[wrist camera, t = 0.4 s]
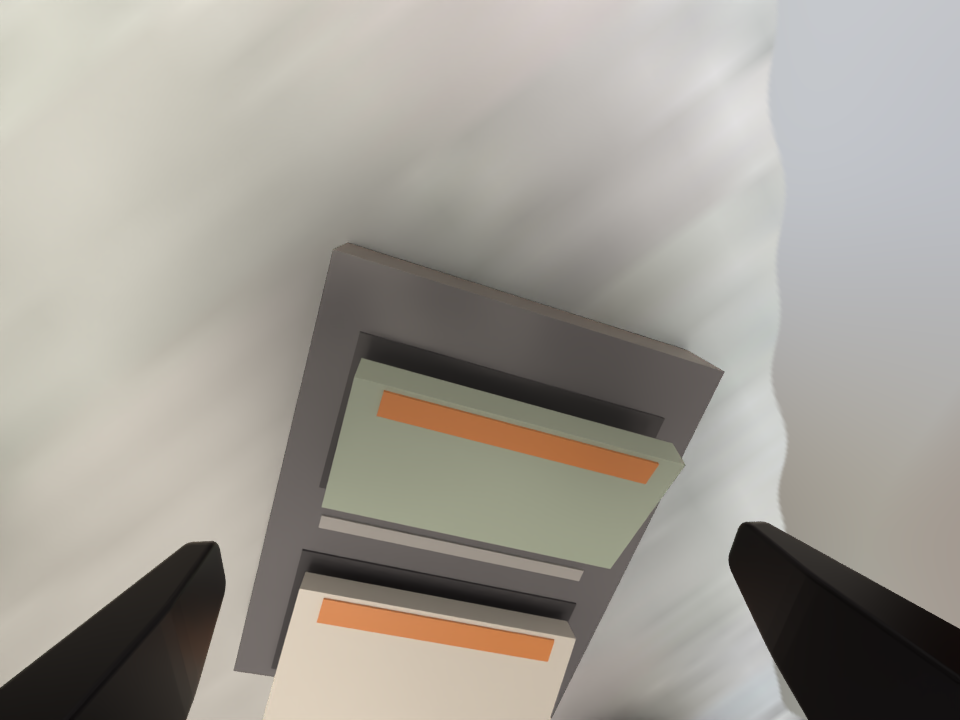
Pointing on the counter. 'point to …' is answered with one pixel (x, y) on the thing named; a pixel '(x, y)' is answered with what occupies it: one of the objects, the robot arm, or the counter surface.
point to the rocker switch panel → (475, 364)
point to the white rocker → (413, 657)
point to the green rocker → (493, 468)
